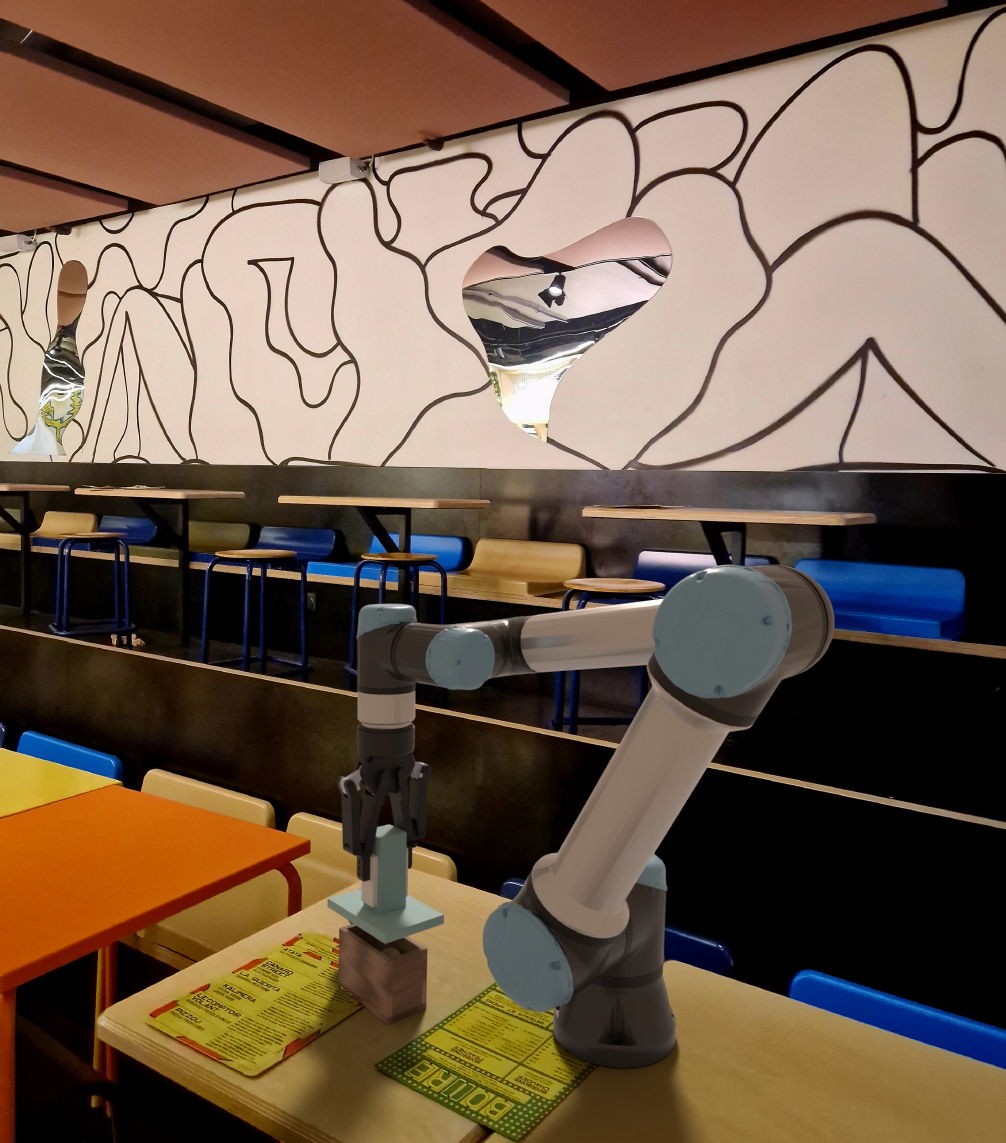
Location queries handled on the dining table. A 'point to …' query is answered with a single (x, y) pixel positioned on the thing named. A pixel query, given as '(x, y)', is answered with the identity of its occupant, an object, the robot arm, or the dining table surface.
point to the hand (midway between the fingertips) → (384, 898)
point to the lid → (388, 895)
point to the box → (383, 973)
